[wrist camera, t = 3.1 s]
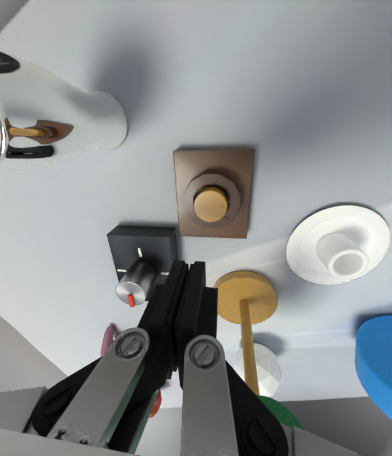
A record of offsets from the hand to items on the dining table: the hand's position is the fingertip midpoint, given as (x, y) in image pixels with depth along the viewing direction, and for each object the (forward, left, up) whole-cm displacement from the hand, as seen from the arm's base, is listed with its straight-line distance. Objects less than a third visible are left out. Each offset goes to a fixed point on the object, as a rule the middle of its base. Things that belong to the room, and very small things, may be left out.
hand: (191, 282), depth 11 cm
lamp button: (0, 0, -14) cm, 14 cm away
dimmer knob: (+11, -10, -14) cm, 20 cm away
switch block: (0, 0, -17) cm, 17 cm away
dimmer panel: (+11, -10, -17) cm, 22 cm away
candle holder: (+7, +16, -17) cm, 24 cm away
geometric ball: (+30, +8, -17) cm, 35 cm away
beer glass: (-9, -13, -17) cm, 23 cm away
